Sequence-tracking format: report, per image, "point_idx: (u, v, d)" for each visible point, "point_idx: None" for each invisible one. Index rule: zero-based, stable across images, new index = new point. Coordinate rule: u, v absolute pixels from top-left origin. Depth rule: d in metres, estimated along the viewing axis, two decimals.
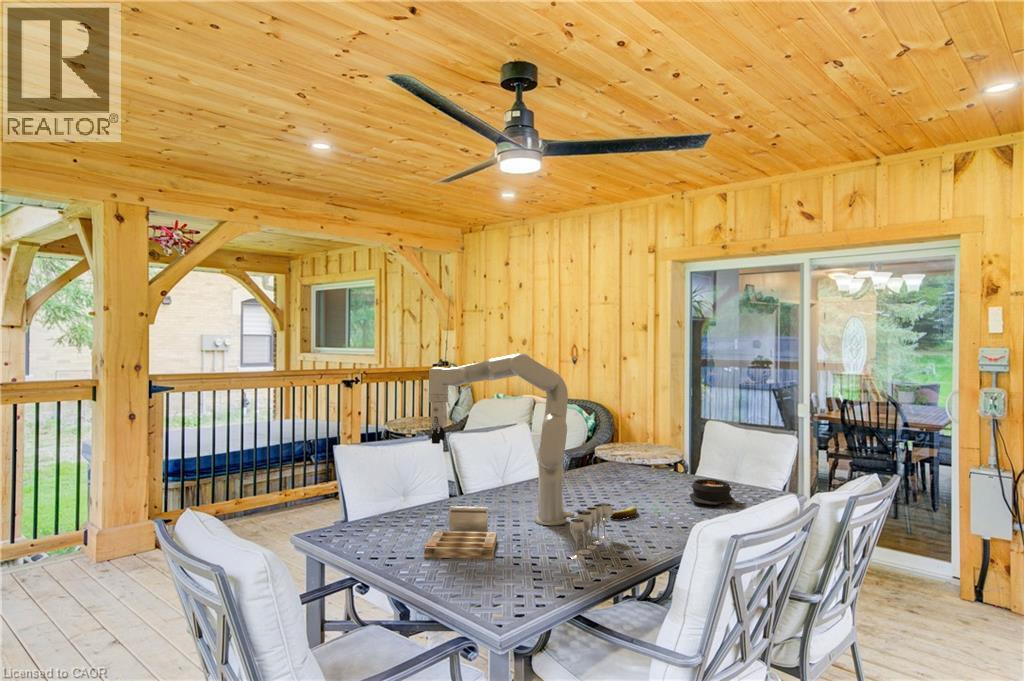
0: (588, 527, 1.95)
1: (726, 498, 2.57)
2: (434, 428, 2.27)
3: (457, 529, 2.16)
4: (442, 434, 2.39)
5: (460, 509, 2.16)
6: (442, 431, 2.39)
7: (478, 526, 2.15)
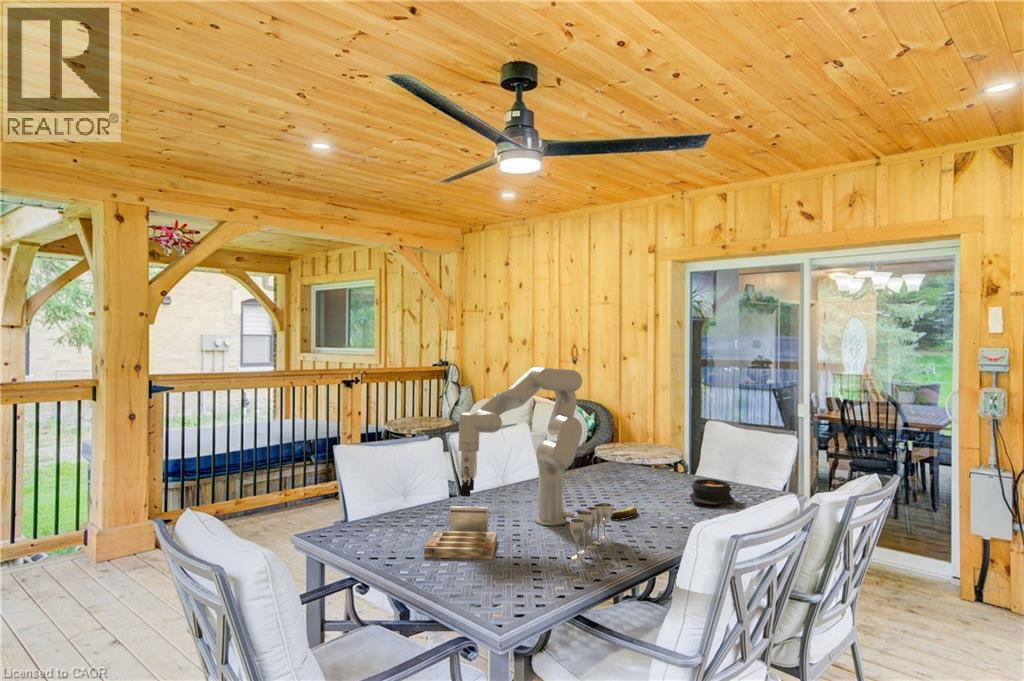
0: (588, 527, 1.95)
1: (726, 498, 2.57)
2: (465, 480, 2.09)
3: (457, 529, 2.16)
4: (471, 484, 2.21)
5: (460, 509, 2.16)
6: (471, 481, 2.21)
7: (478, 526, 2.15)
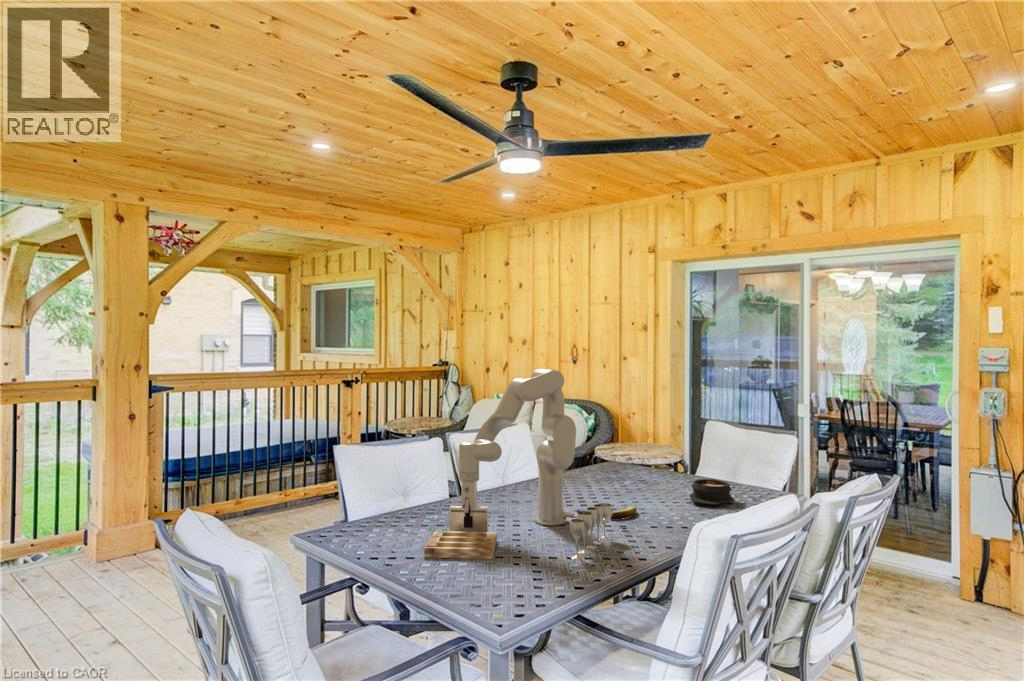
0: (588, 527, 1.95)
1: (726, 498, 2.57)
2: (467, 513, 2.12)
3: (457, 529, 2.16)
4: None
5: (460, 509, 2.16)
6: None
7: (478, 526, 2.15)
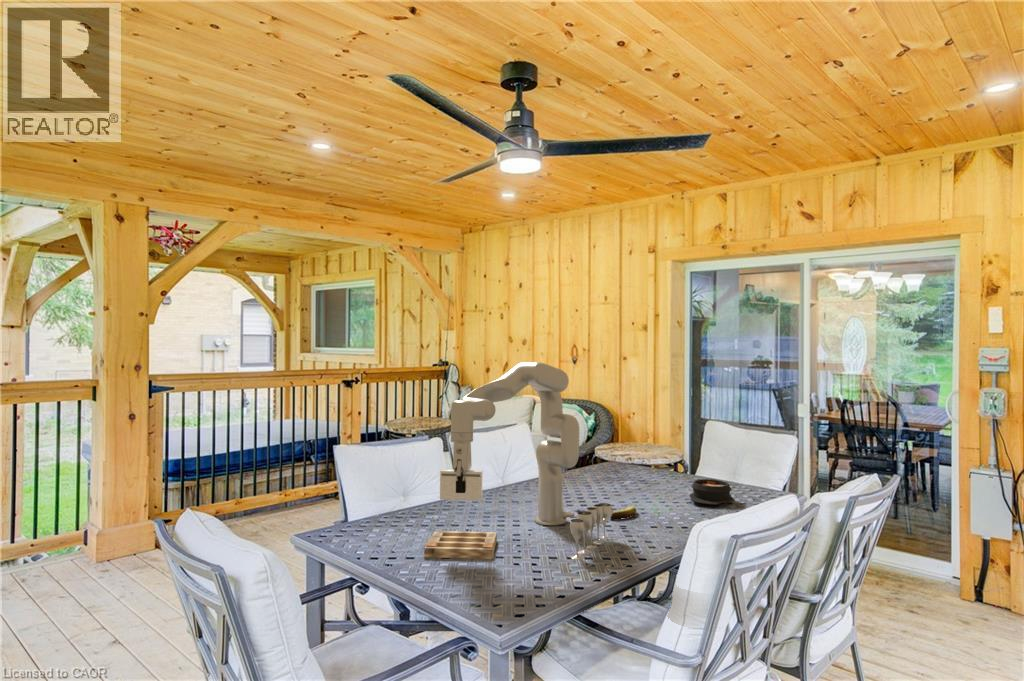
0: (588, 527, 1.95)
1: (726, 498, 2.57)
2: (459, 477, 1.95)
3: (448, 494, 1.98)
4: None
5: (452, 472, 1.98)
6: None
7: (471, 491, 1.98)
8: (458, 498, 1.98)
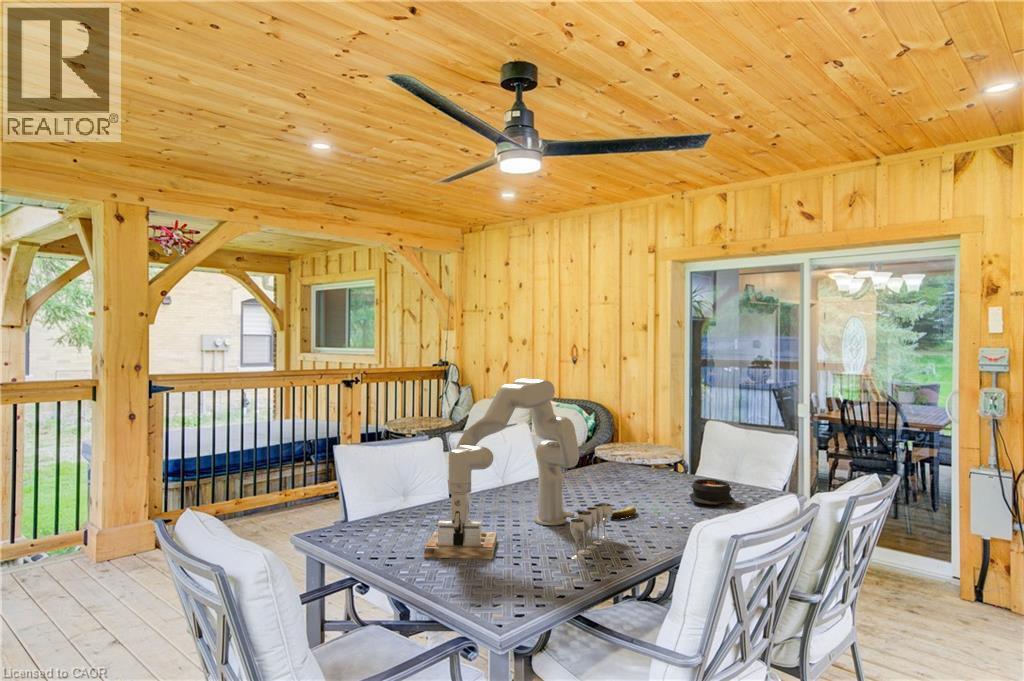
0: (588, 527, 1.95)
1: (726, 498, 2.57)
2: (456, 529, 1.88)
3: None
4: None
5: (450, 524, 1.93)
6: None
7: (470, 543, 1.93)
8: None
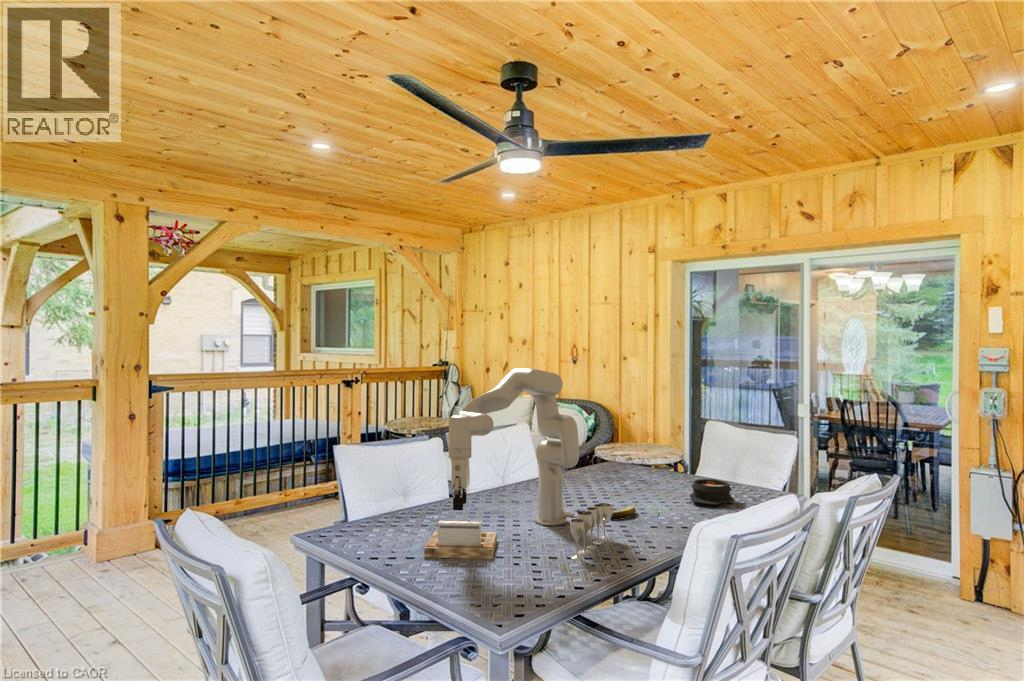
0: (588, 527, 1.95)
1: (726, 498, 2.57)
2: (456, 493, 1.88)
3: None
4: (463, 497, 1.98)
5: (450, 524, 1.93)
6: (463, 493, 1.98)
7: (470, 543, 1.93)
8: None
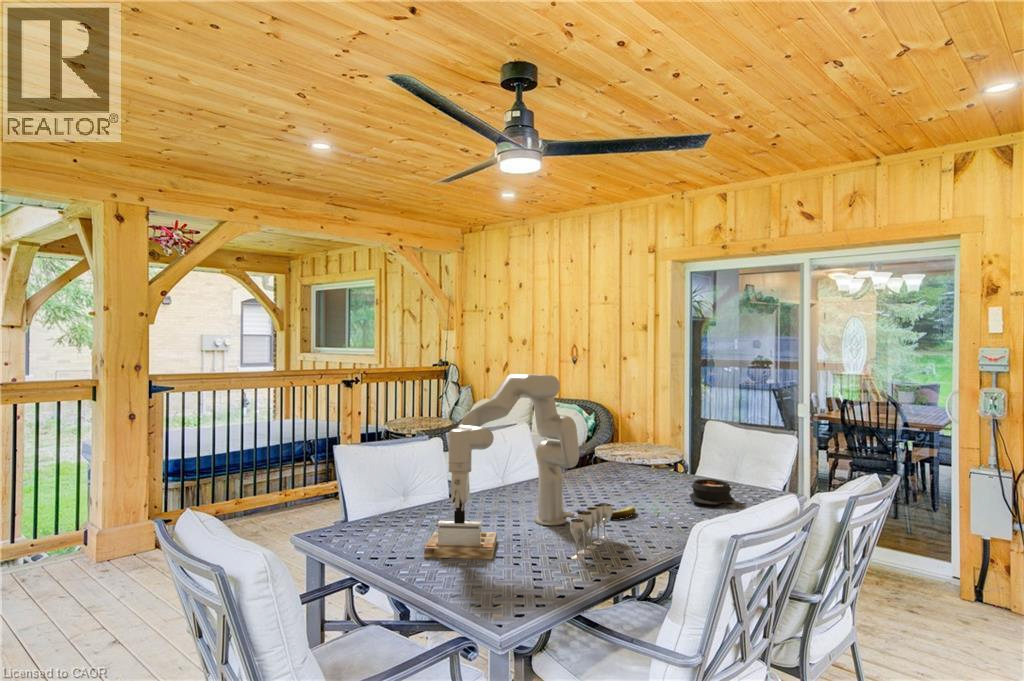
0: (588, 527, 1.95)
1: (726, 498, 2.57)
2: (458, 508, 1.91)
3: None
4: None
5: (450, 524, 1.93)
6: None
7: (470, 543, 1.93)
8: None
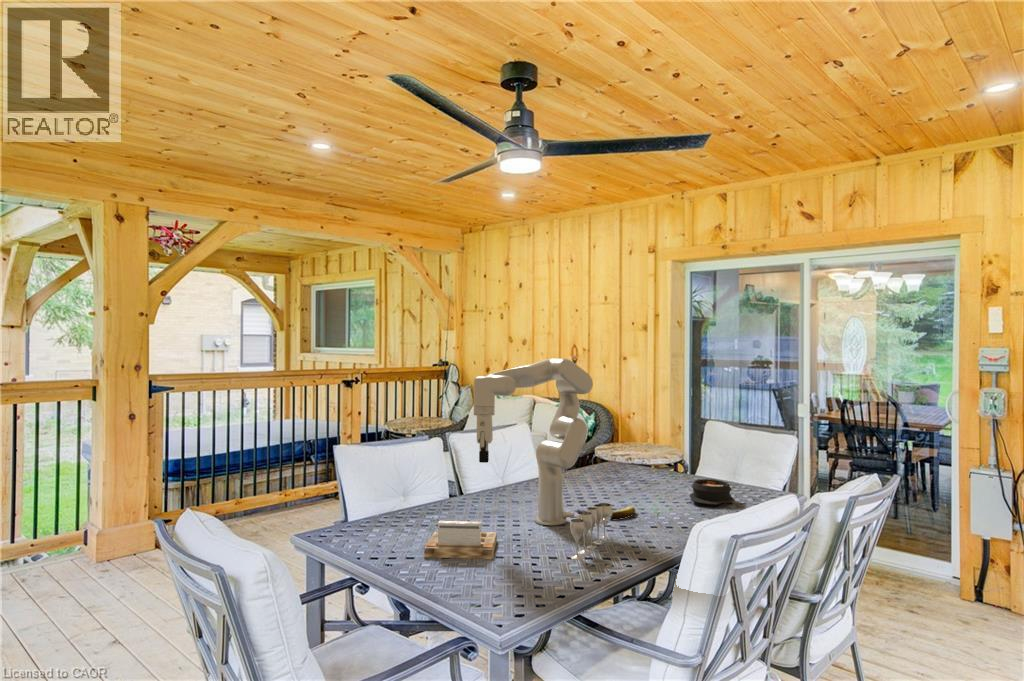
0: (588, 527, 1.95)
1: (726, 498, 2.57)
2: (482, 447, 2.09)
3: None
4: None
5: (450, 524, 1.93)
6: None
7: (470, 543, 1.93)
8: None
